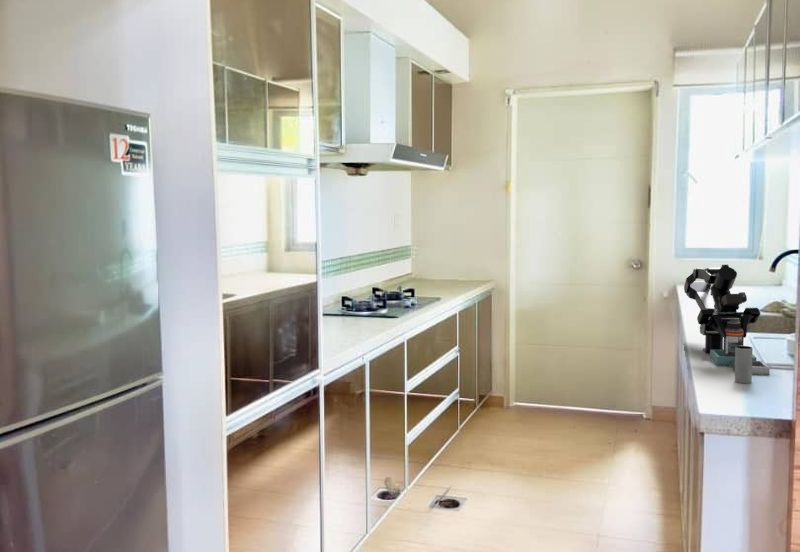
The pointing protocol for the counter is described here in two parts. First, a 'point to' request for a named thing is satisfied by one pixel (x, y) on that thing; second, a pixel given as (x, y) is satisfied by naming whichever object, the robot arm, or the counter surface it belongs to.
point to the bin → (722, 358)
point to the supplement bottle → (733, 338)
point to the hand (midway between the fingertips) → (735, 337)
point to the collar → (755, 367)
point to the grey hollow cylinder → (743, 364)
